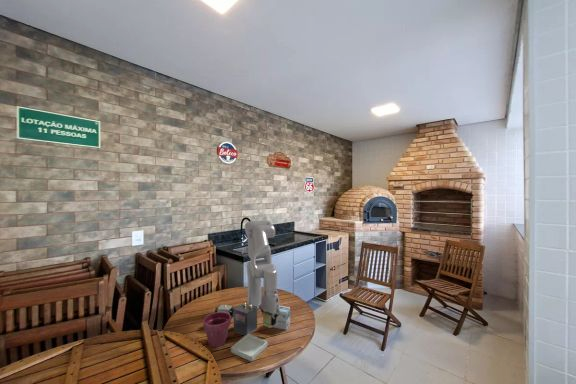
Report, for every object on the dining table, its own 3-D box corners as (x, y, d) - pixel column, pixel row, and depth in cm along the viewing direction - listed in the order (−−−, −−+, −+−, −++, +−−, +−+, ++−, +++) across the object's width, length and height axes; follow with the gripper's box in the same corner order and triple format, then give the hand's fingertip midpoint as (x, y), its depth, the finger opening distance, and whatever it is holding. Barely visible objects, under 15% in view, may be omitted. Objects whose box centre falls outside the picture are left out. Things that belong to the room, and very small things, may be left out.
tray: (248, 338, 135) (248, 333, 135) (267, 346, 128) (267, 341, 128) (230, 352, 123) (230, 347, 123) (251, 361, 116) (251, 356, 116)
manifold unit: (244, 323, 149) (244, 300, 148) (257, 328, 144) (257, 304, 143) (233, 331, 141) (233, 306, 140) (246, 336, 136) (246, 310, 135)
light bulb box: (290, 324, 148) (290, 306, 148) (286, 330, 142) (286, 312, 142) (274, 321, 152) (274, 304, 152) (269, 327, 145) (269, 309, 145)
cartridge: (268, 320, 140) (268, 307, 140) (275, 323, 138) (276, 309, 137) (263, 325, 136) (263, 311, 136) (270, 328, 133) (270, 314, 133)
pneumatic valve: (232, 328, 144) (232, 308, 144) (214, 326, 146) (214, 306, 146) (236, 323, 149) (236, 303, 149) (218, 321, 152) (218, 302, 151)
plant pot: (215, 331, 141) (215, 309, 141) (236, 337, 136) (236, 314, 135) (197, 346, 128) (197, 321, 127) (219, 353, 122) (219, 327, 122)
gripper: (286, 292, 135) (286, 324, 136) (261, 285, 143) (261, 315, 144) (279, 298, 128) (278, 331, 129) (253, 290, 137) (253, 321, 138)
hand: (269, 322), depth 137 cm, fingers closed on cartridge, 5 cm apart
